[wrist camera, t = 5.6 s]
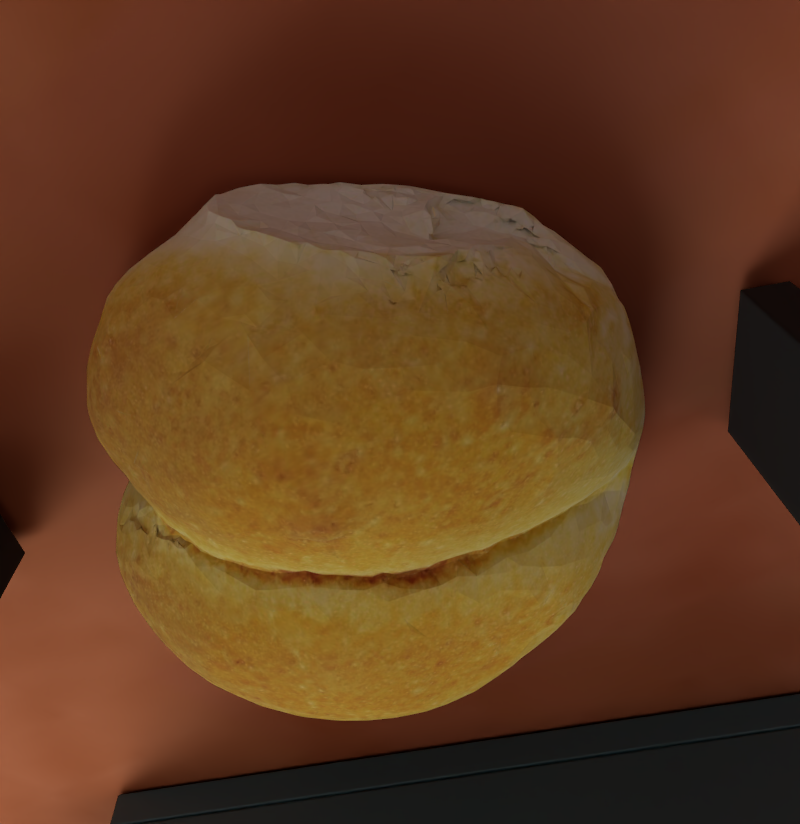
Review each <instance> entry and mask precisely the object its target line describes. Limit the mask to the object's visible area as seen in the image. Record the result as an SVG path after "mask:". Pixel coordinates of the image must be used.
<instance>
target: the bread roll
mask: <svg viewBox="0 0 800 824" xmlns="http://www.w3.org/2000/svg"><path fill="white" fill-rule="evenodd" d="M87 407H88V412H89V417H90V420H91V423H92V425H93V428H94V430H95V433H96V435H97V438H98V440H99V441H100V443H101V444H102V446H103V447H104V449H105V450H106V452H107V453H108V455H109V456H110V458H111V459H112V461H113V462H114V463H115V464H116V465H117V466H118V468H119V469H120V470H121V471H122V472H123V473H124V474H125V475H126V476H127V477H128V479H129V483H128V485H127V487H126V489H125V491H124V494H123V498H122V502H121V505H120V509H119V514H118V521H117V539H116V554H117V558H118V563H119V567H120V572H121V576H122V578H123V580H124V583H125V585H126V587H127V589H128V591H129V593H130V596H131V598H132V600H133V602H134V604H135V605H136V607H137V608H138V610H139V611H140V613H141V614H142V616H143V617H144V619H145V620H146V622H147V623H148V624H149V626H150V627H151V628H152V630H153V631H154V632H155V633H156V635H157V636H158V637H159V638H160V639H161V641H162V642H163V643H164V644H165V645H166V646H167V647H168V648H169V649H170V650H171V651H172V652H173V653H174V654H175V655H176V656H177V657H178V658H179V659H180V660H181V661H183V662H184V663H185V664H186V665H187V666H188V667H189V668H190V669H192V670H193V671H194V672H196V673H197V674H199V675H200V676H202V677H203V678H204V679H206V680H207V681H209V682H211V683H212V684H214V685H215V686H217V687H219V688H221V689H224V690H226V691H228V692H230V693H232V694H235V695H237V696H239V697H241V698H244V699H246V700H248V701H251V702H253V703H255V704H258V705H260V706H263V707H267V708H271V709H274V710H278V711H282V712H286V713H289V714H293V715H297V716H301V717H310V718H318V719H327V720H336V721H356V720H376V719H387V718H396V717H401V716H406V715H411V714H416V713H420V712H425V711H428V710H431V709H434V708H437V707H440V706H443V705H446V704H448V703H451V702H453V701H455V700H457V699H459V698H462V697H464V696H466V695H468V694H470V693H473V692H475V691H476V690H478V689H479V688H481V687H482V686H484V685H485V684H487V683H488V682H490V681H491V680H493V679H494V678H496V677H497V676H498V675H500V674H501V673H503V672H504V671H506V670H507V669H509V668H510V667H511V666H513V665H514V664H515V663H516V662H517V661H518V660H519V659H521V658H522V657H523V656H525V655H526V654H527V653H529V652H530V651H531V650H533V649H534V648H535V647H537V646H538V645H539V644H540V643H542V642H543V641H544V640H545V639H546V638H547V637H549V636H550V635H551V634H552V633H553V632H555V631H556V630H557V629H558V628H559V627H560V626H561V625H562V624H563V623H564V622H565V621H566V620H567V619H568V618H569V616H570V615H571V614H572V613H573V612H574V611H575V610H576V608H577V607H578V605H579V604H580V602H581V600H582V599H583V597H584V596H585V594H586V593H587V592H588V590H589V589H590V588H591V586H592V584H593V582H594V580H595V578H596V577H597V575H598V573H599V571H600V568H601V565H602V561H603V558H604V556H605V554H606V552H607V551H608V549H609V547H610V545H611V543H612V542H613V540H614V537H615V534H616V531H617V528H618V524H619V520H620V515H621V511H622V507H623V504H624V500H625V497H626V493H627V490H628V487H629V482H630V475H631V469H632V465H633V462H634V458H635V455H636V451H637V448H638V444H639V441H640V437H641V434H642V430H643V425H644V418H645V399H644V390H643V383H642V377H641V370H640V365H639V360H638V355H637V351H636V346H635V342H634V337H633V333H632V329H631V325H630V322H629V319H628V316H627V313H626V310H625V308H624V306H623V304H622V303H621V302H620V300H619V299H618V297H617V295H616V293H615V290H614V288H613V286H612V284H611V282H610V281H609V279H608V278H607V276H606V274H605V273H604V271H603V270H602V268H601V267H600V266H599V265H597V264H596V263H594V262H593V261H592V260H590V259H589V258H587V257H586V256H585V255H584V254H582V253H581V252H580V251H579V250H577V249H576V248H575V247H574V246H572V245H571V244H570V243H568V242H567V241H566V240H565V239H563V238H562V237H561V236H560V235H558V234H557V233H556V232H555V231H553V230H551V229H549V228H547V227H545V226H544V225H542V224H541V223H540V222H539V221H538V220H537V219H536V218H535V217H534V216H533V215H531V214H530V213H529V212H527V211H526V210H525V209H523V208H520V207H516V206H512V205H507V204H503V203H499V202H495V201H490V200H485V199H482V198H481V199H480V198H475V197H469V196H462V195H455V194H448V193H443V192H438V191H433V190H428V189H423V188H418V187H413V186H405V185H391V184H370V185H358V184H350V183H342V182H338V183H332V184H314V185H305V184H298V183H289V184H280V185H272V184H256V185H251V186H246V187H241V188H237V189H234V190H231V191H229V192H226V193H223V194H215V195H214V196H213V197H212V198H211V199H210V200H209V201H208V202H207V203H206V204H205V205H204V206H203V207H202V208H201V209H200V210H199V212H198V213H197V214H196V215H195V216H194V217H193V218H192V219H191V220H190V221H189V222H188V223H187V224H186V225H185V226H184V227H182V228H181V229H180V230H179V231H178V232H177V233H176V234H175V235H174V236H173V237H172V238H170V239H169V240H167V241H166V242H165V243H163V244H162V245H160V246H159V247H158V248H156V249H155V250H153V251H152V252H151V253H149V254H148V255H147V256H146V257H144V258H143V259H142V260H140V261H139V262H138V263H137V264H135V265H134V266H133V267H132V268H130V269H129V270H128V271H127V272H126V273H125V274H124V276H123V277H122V278H121V279H120V280H119V281H118V282H117V283H116V284H115V286H114V288H113V289H112V291H111V292H110V294H109V295H108V297H107V299H106V303H105V306H104V309H103V312H102V315H101V319H100V322H99V325H98V328H97V331H96V333H95V336H94V339H93V342H92V346H91V350H90V355H89V359H88V364H87Z"/></svg>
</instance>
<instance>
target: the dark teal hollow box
mask: <svg viewBox="0 0 800 824" xmlns="http://www.w3.org/2000/svg"><path fill="white" fill-rule="evenodd" d="M110 824H800V694H795V695H788V696H782V697H775V698H768V699H761V700H755V701H748V702H741V703H734V704H728V705H721V706H714V707H707V708H701V709H694V710H687V711H680V712H674V713H667V714H660V715H654V716H647V717H640V718H633V719H627V720H620V721H613V722H606V723H600V724H593V725H586V726H579V727H573V728H566V729H559V730H552V731H546V732H539V733H532V734H526V735H519V736H512V737H505V738H499V739H492V740H485V741H478V742H472V743H465V744H458V745H451V746H445V747H438V748H431V749H424V750H418V751H411V752H404V753H398V754H391V755H384V756H377V757H371V758H364V759H357V760H350V761H344V762H337V763H330V764H323V765H317V766H310V767H303V768H296V769H290V770H283V771H276V772H270V773H263V774H256V775H249V776H243V777H236V778H229V779H222V780H216V781H209V782H202V783H195V784H189V785H182V786H175V787H168V788H162V789H155V790H148V791H142V792H135V793H128V794H121V795H119V796H118V799H117V802H116V806H115V809H114V813H113V816H112V820H111V823H110Z"/></svg>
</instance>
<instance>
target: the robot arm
mask: <svg viewBox="0 0 800 824" xmlns="http://www.w3.org/2000/svg"><path fill="white" fill-rule="evenodd" d="M728 432H729V433H730V435H731V436H732V437H733V439H734V440H735V441H736V442H737V444H738V445H739V446H740V448H741V449H742V450H743V452H744V453H745V454H746V456H747V457H748V458H749V459H750V461H751V462H752V463H753V465H754V466H755V467H756V469H757V470H758V471H759V473H760V474H761V475H762V476H763V478H764V479H765V480H766V482H767V483H768V484H769V486H770V487H771V488H772V489H773V491H774V492H775V493H776V495H777V496H778V497H779V499H780V500H781V501H782V503H783V504H784V505H785V506H786V508H787V509H788V510H789V512H790V513H791V514H792V516H793V517H794V518H795V520H796V521H797V522H798V523H799V525H800V289H799V288H798V287H797V286H795V285H794V284H793V283H791V282H790V281H788V282H783V283H777V284H772V285H766V286H761V287H755V288H750V289H744V290H741V291H740V302H739V313H738V324H737V336H736V347H735V358H734V369H733V380H732V392H731V403H730V414H729V425H728ZM24 554H25V552H24V551H23V549H22V547H21V546H20V544H19V543H18V541H17V540H16V538H15V537H14V535H13V533H12V532H11V530H10V529H9V527H8V526H7V524H6V523H5V521H4V519H3V518H2V516H1V515H0V598H1V596H2V594H3V592H4V590H5V589H6V587H7V585H8V583H9V581H10V579H11V578H12V576H13V574H14V572H15V570H16V568H17V567H18V565H19V563H20V561H21V559H22V557H23V556H24Z"/></svg>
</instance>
